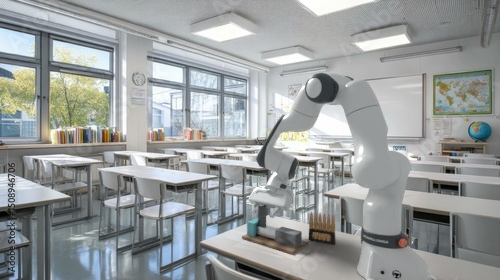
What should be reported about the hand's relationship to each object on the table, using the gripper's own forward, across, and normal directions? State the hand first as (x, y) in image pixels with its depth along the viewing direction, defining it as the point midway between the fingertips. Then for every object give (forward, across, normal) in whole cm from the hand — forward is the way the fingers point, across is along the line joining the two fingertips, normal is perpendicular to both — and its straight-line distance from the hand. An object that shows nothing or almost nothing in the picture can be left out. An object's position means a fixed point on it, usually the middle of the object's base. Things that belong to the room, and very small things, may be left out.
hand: (262, 214), depth 124 cm
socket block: (+7, -3, +7) cm, 10 cm away
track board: (+7, +7, +7) cm, 12 cm away
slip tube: (+6, +3, +5) cm, 8 cm away
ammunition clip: (-1, +22, +15) cm, 27 cm away
